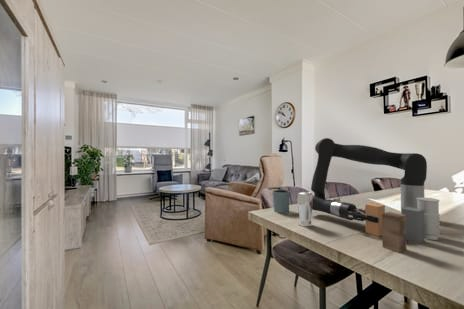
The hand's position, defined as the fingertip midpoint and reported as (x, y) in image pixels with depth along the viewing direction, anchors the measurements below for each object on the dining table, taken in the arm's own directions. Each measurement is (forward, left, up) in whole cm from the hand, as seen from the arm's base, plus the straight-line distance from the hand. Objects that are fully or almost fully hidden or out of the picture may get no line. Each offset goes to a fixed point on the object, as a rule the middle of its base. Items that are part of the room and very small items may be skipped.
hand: (381, 219), depth 86 cm
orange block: (+1, -3, -7) cm, 7 cm away
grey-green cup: (+23, -44, -7) cm, 50 cm away
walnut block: (+6, +10, -7) cm, 14 cm away
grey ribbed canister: (-16, +5, -7) cm, 19 cm away
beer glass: (+23, -20, -7) cm, 31 cm away
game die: (-7, -37, -7) cm, 38 cm away
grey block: (-7, +7, -7) cm, 12 cm away
